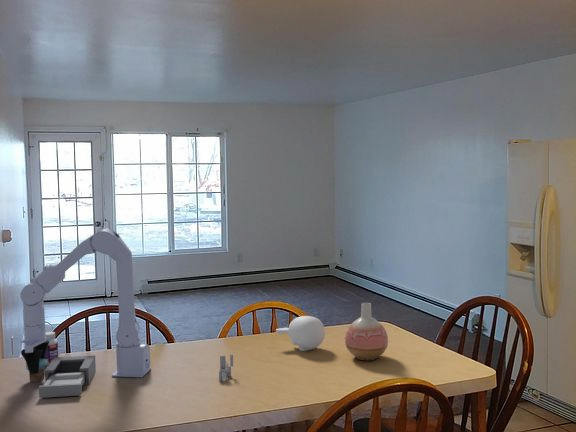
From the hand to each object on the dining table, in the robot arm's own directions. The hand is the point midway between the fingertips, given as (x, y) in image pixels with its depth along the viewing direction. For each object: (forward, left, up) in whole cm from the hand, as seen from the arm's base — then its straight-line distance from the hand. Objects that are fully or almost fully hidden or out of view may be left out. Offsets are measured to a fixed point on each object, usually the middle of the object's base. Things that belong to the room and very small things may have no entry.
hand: (36, 369), depth 179 cm
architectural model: (-60, -5, -4) cm, 60 cm away
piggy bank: (-75, -38, -3) cm, 84 cm away
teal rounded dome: (0, 0, +1) cm, 1 cm away
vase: (-96, -28, -3) cm, 100 cm away
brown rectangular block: (0, 0, -3) cm, 3 cm away
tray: (-12, +7, -3) cm, 14 cm away
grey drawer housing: (-10, -1, -3) cm, 10 cm away
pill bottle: (+4, -15, -3) cm, 16 cm away
